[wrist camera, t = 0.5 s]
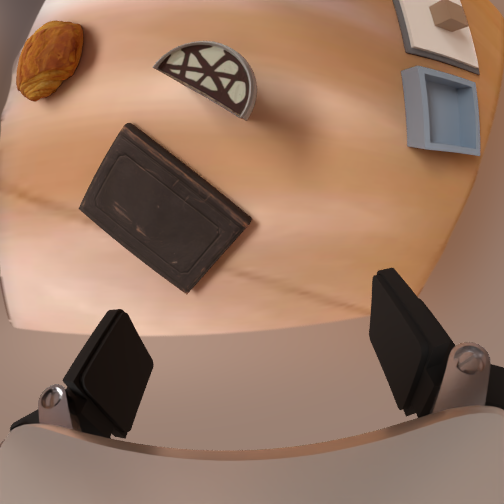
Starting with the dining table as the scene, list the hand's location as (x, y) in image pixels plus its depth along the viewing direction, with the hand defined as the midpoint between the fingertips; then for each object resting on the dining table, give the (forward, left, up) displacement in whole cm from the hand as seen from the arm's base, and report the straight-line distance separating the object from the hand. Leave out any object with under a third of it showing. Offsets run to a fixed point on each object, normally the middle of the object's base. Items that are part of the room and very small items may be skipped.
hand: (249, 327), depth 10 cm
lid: (-29, +33, -29) cm, 53 cm away
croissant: (-28, -31, -30) cm, 52 cm away
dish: (-11, +29, -30) cm, 43 cm away
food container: (-14, -3, -30) cm, 34 cm away
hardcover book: (+2, -15, -31) cm, 34 cm away
